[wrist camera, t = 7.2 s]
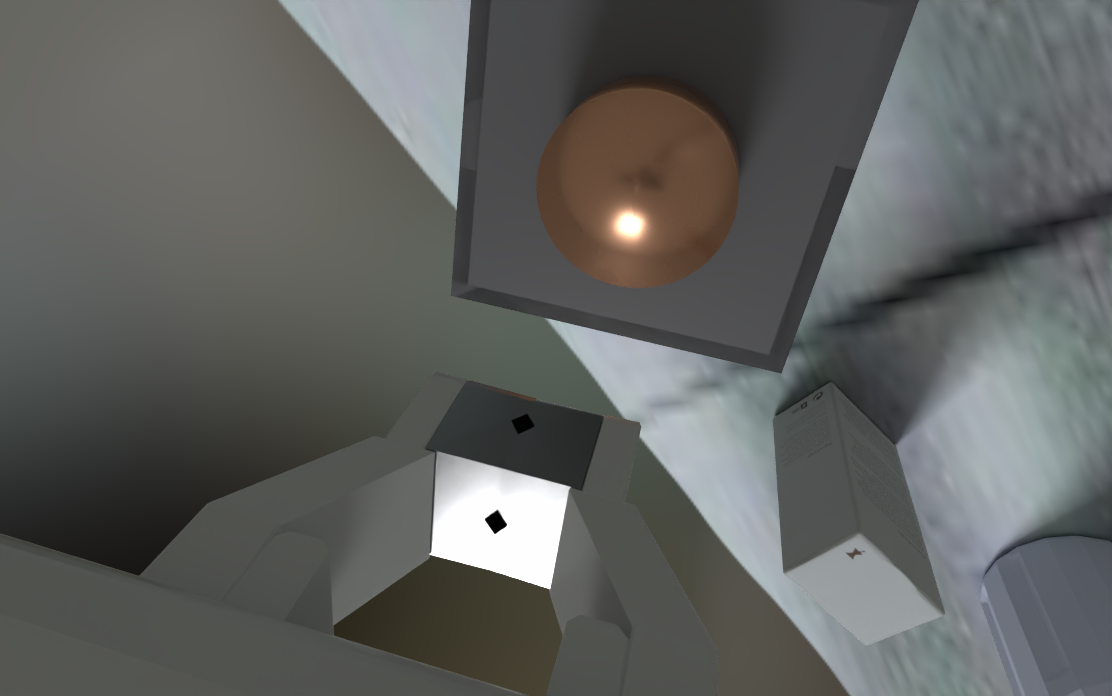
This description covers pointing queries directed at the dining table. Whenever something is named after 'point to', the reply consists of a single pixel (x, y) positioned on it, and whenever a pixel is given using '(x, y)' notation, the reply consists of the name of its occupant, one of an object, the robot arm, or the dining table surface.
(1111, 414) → the dining table surface
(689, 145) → the plunger
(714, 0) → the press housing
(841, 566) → the skincare box
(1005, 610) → the soap bottle
